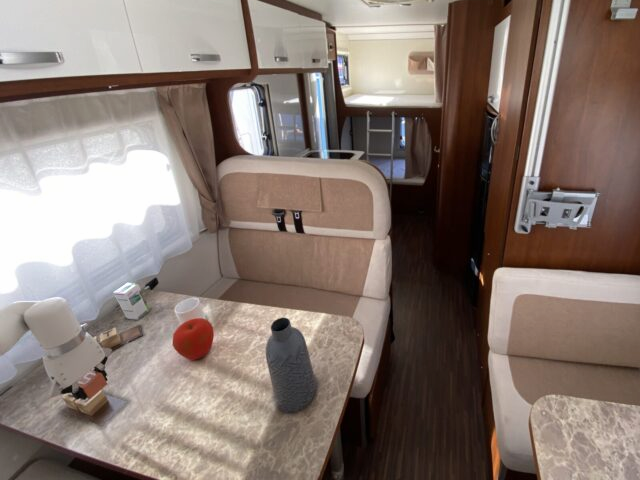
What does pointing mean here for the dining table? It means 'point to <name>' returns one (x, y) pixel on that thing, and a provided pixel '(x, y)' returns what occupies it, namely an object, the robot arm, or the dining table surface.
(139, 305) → the syrup box
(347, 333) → the dining table surface
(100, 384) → the block
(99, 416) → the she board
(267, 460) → the dining table surface
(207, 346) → the apple
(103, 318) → the dining table surface
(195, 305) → the mug
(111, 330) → the board
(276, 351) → the vase
